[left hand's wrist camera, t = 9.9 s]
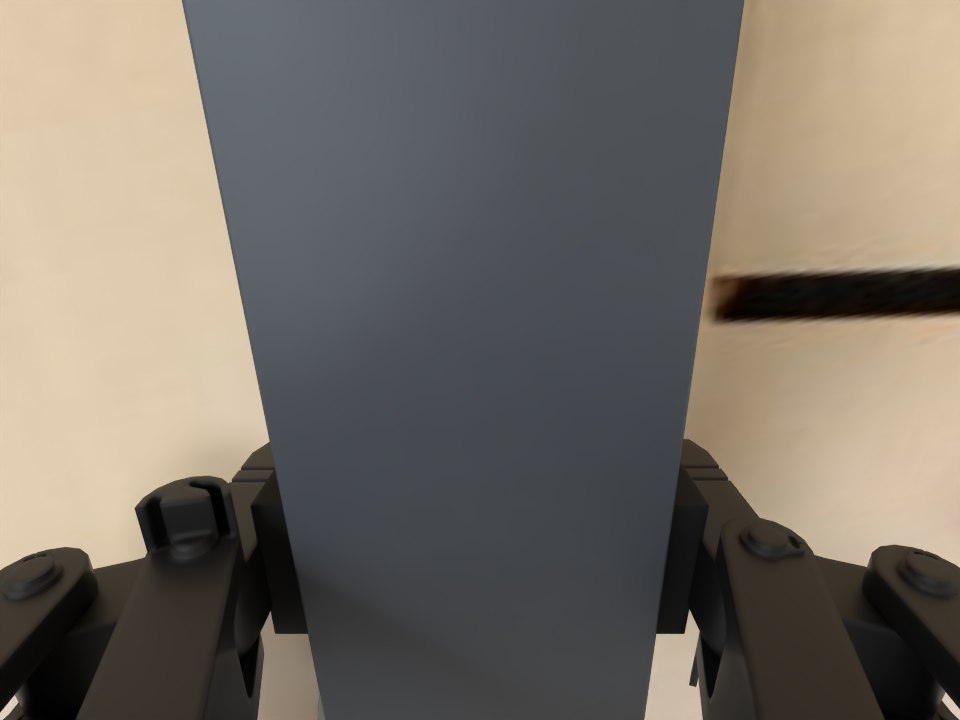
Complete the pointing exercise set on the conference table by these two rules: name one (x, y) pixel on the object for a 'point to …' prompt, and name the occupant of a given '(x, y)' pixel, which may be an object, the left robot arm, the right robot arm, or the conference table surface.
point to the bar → (472, 326)
